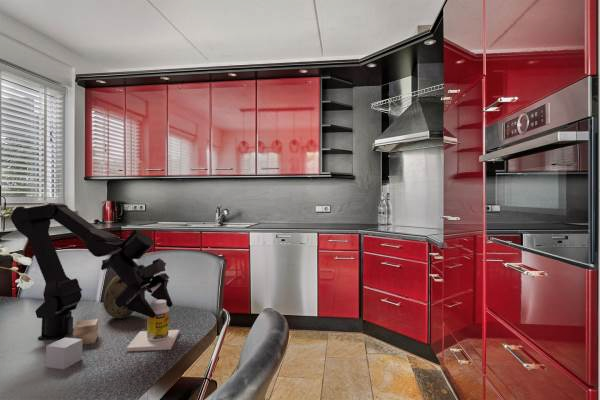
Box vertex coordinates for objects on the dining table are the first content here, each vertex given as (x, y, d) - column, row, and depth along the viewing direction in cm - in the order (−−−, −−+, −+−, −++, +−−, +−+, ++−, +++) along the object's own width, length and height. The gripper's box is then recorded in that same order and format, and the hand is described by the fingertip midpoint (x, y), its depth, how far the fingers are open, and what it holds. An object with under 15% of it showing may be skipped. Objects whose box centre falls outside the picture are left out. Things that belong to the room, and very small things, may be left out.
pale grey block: (45, 367, 76) (46, 345, 76) (64, 357, 81) (65, 337, 81) (63, 369, 75) (64, 347, 76) (81, 359, 80) (82, 339, 80)
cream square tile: (126, 351, 85) (126, 347, 85) (140, 334, 96) (140, 331, 96) (170, 349, 87) (170, 345, 87) (179, 333, 98) (179, 329, 98)
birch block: (73, 346, 88) (73, 327, 88) (76, 338, 92) (77, 321, 92) (94, 343, 90) (95, 324, 90) (97, 336, 94) (98, 318, 94)
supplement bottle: (153, 343, 87) (154, 305, 88) (142, 338, 91) (144, 301, 91) (172, 337, 92) (173, 301, 92) (161, 332, 95) (162, 297, 95)
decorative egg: (96, 318, 108) (97, 273, 108) (128, 310, 117) (129, 268, 117) (113, 326, 102) (114, 278, 102) (145, 316, 111) (147, 272, 111)
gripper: (126, 256, 83) (166, 301, 82) (164, 246, 101) (197, 283, 100) (96, 285, 83) (136, 331, 82) (139, 271, 102) (172, 308, 101)
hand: (163, 311), depth 91 cm, fingers open, 9 cm apart
